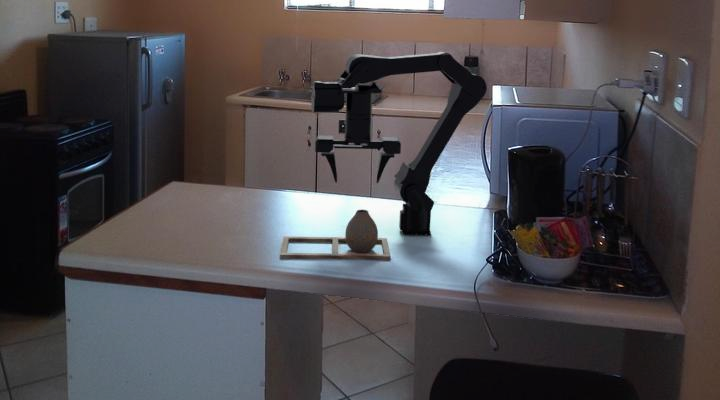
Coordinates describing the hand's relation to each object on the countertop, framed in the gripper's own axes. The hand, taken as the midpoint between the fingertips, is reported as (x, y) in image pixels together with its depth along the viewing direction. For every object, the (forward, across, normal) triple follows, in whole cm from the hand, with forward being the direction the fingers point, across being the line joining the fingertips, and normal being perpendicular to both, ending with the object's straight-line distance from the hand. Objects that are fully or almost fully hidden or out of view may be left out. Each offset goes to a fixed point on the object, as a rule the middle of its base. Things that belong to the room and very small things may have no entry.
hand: (356, 182), depth 171 cm
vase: (+12, -1, +12) cm, 17 cm away
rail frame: (+12, +5, +12) cm, 17 cm away
